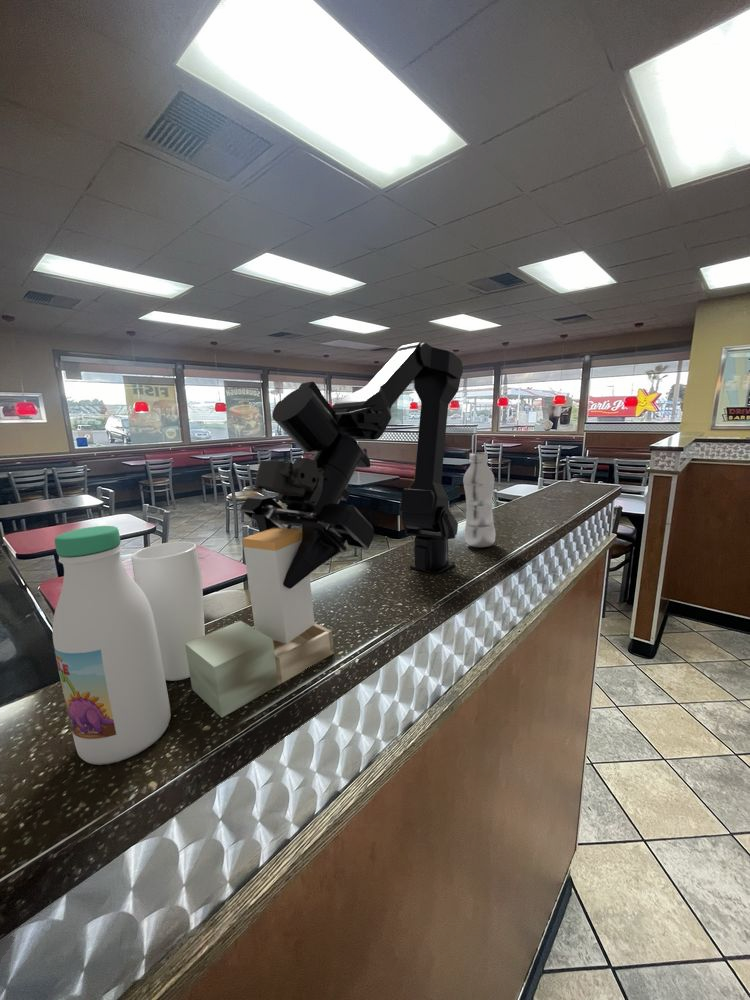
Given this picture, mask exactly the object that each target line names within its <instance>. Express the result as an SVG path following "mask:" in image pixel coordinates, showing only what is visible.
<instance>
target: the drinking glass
mask: <svg viewBox="0 0 750 1000" xmlns="http://www.w3.org/2000/svg"><path fill="white" fill-rule="evenodd" d="M130 557H131V558H130V559H131V564H132V572H133V580H134V581H135V582H136V583H137V585H138V586H139V587H140V588H141V590H142V591H143V592H144V594H145V596H146V597H147V600H148V602H149V604H150V607H151V610H152V613H153V618H154V622H155V626H156V631H157V637H158V642H159V647H160V653H161V658H162V664H163V670H164V675H165V681H169V682H174V681H175V682H176V681H183V680H186V679H188V678H190V672H189V666H188V660H187V654H186V647H185V643H188V642H190V641H192V640H195V639H197V638H200V637H202V636H204V635H206V634H205V633H206V631H205V630H206V629H205V614H204V611H205V609H204V594H203V578H202V577H203V576H202V569H201V568H202V567H201V562H200V558H199V552H198V546H197V544H196V543H195V542H192V541H186V540H184V541H183V540H182V541H181V540H180V541H170V542H169V541H168V542H163V543H157V544H153V545H149V546H145V547H144V548H141V549H138V550H137V551H135V552H134V553H132V555H131V556H130Z"/></svg>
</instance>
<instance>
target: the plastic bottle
mask: <svg viewBox="0 0 750 1000" xmlns="http://www.w3.org/2000/svg"><path fill="white" fill-rule="evenodd" d="M488 454H489V453H488V452H482V451H481V452H470V453H469V460H468V463H470V466H469V467H468V468H467V469H466V471H465V473H464V475H463V478H462V481H463V482H462V483H463V488H464V495H465V503H466V514H465V515H466V517H465V518H466V520H465V527H464V534H463V535H464V540H465V542H466V544H467V545H468V546H470V547H473V548H486V547H487V548H488V547H491V546H493V544H494V543H495V542H496V536H497V535H496V528H495V525H494V515H493V495H494V488H495V478H496V477H495V475H494V473H493V471H492V470H491V468H490V467H489V466H488V464H487V463H488V462H489V459H488V458H489V457H488Z"/></svg>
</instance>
